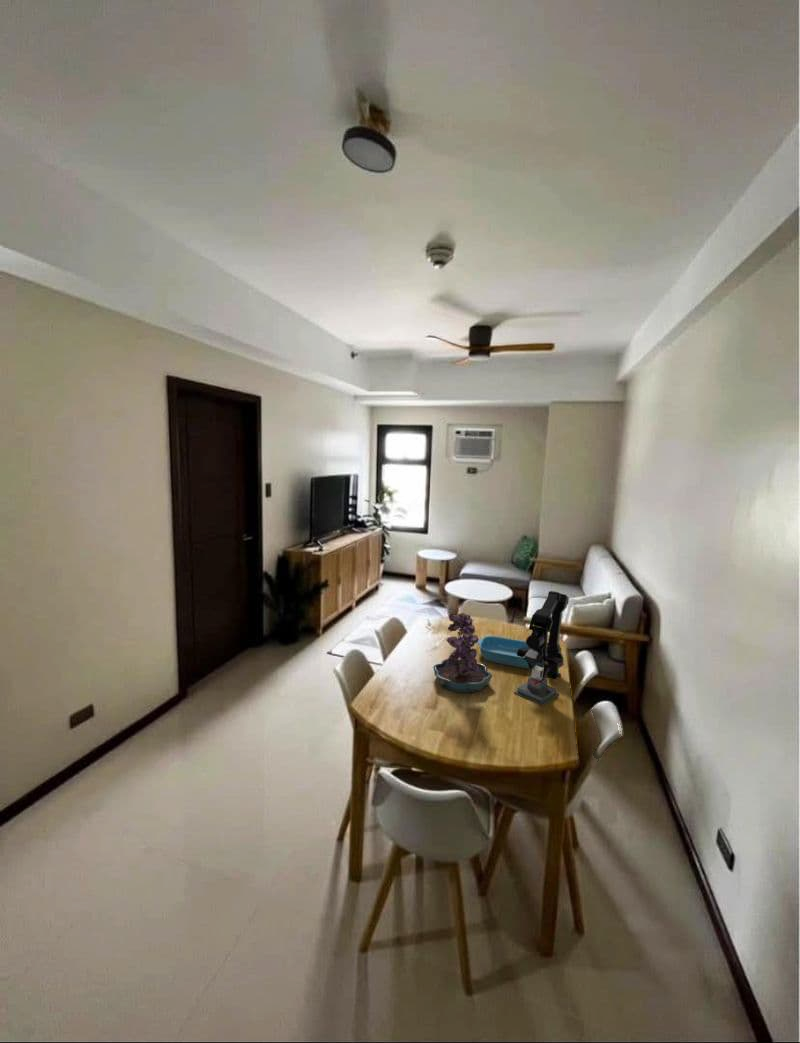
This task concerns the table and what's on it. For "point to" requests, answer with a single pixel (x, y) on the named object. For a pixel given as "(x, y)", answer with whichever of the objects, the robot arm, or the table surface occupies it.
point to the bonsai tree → (462, 659)
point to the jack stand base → (537, 691)
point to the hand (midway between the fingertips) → (537, 676)
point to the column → (537, 673)
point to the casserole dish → (504, 651)
